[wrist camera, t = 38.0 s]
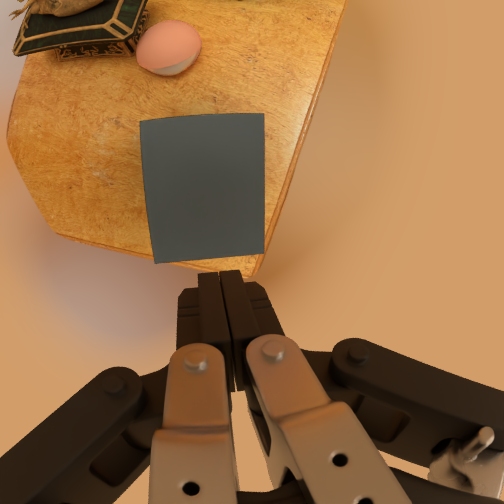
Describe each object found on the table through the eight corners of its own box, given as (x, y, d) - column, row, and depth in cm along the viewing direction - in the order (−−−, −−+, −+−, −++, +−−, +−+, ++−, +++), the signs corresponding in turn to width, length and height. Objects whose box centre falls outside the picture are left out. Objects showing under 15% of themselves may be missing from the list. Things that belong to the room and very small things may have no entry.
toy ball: (148, 89, 29) (136, 79, 22) (137, 43, 25) (124, 24, 18) (206, 72, 30) (209, 57, 23) (194, 26, 26) (194, 3, 19)
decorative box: (45, 69, 23) (-39, 48, 5) (63, 14, 19) (-1, -31, 2) (170, 64, 28) (146, 2, 11) (187, 8, 24) (187, -76, 7)
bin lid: (262, 250, 30) (264, 253, 29) (155, 260, 28) (154, 263, 27) (262, 114, 24) (264, 113, 23) (141, 121, 22) (139, 121, 21)
